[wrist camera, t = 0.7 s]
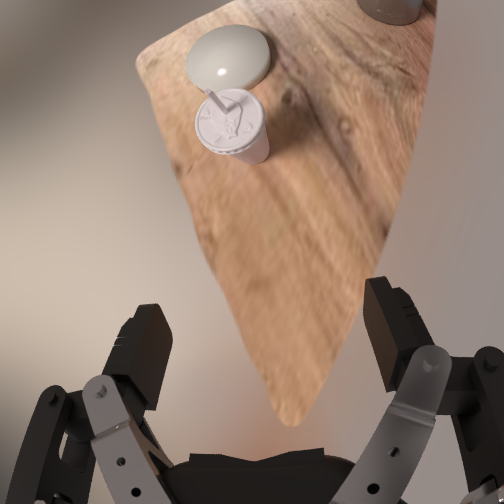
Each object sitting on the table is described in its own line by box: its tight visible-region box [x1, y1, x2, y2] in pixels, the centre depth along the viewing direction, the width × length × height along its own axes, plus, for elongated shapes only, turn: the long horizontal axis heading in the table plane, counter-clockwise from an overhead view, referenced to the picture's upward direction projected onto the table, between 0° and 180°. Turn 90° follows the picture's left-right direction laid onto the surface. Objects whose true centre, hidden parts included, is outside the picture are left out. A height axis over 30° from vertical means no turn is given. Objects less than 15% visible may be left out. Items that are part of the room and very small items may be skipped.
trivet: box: [186, 25, 271, 93], centre depth 34 cm, size 11×11×2 cm
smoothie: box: [195, 88, 270, 165], centre depth 28 cm, size 6×6×14 cm
